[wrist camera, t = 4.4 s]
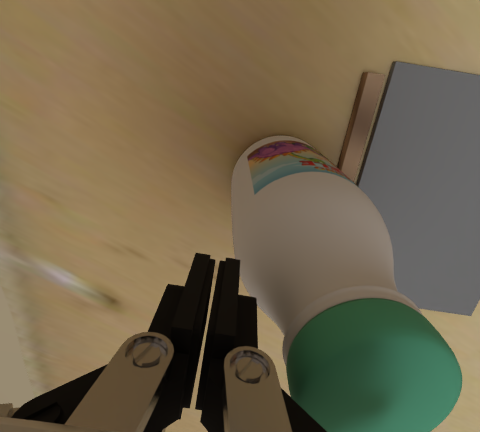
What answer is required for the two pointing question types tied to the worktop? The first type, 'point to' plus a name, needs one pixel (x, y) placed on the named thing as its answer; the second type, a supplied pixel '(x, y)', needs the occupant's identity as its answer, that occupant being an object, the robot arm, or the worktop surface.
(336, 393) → the milk bottle
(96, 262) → the worktop surface
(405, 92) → the mat
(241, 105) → the worktop surface
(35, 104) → the worktop surface
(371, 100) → the rail
